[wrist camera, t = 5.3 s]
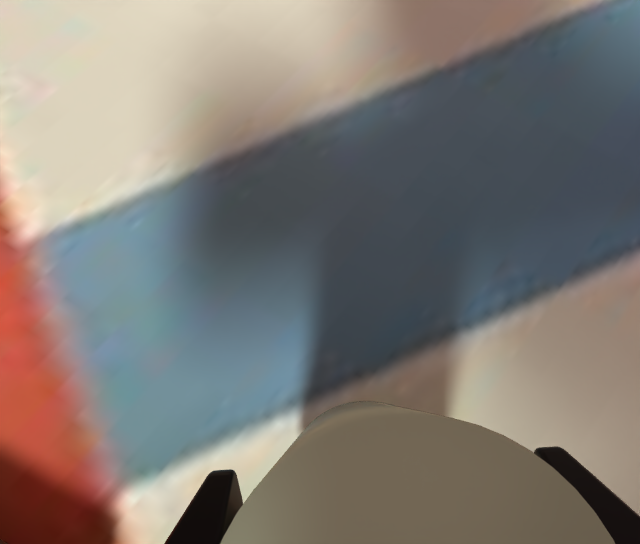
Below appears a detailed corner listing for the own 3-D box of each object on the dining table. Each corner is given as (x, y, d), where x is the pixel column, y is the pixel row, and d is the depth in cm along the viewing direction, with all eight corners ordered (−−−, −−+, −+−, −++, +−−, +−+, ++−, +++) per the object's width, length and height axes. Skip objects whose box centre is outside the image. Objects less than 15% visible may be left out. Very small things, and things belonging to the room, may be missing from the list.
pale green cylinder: (477, 447, 16) (710, 536, 6) (410, 614, 15) (557, 1046, 5) (327, 373, 16) (316, 344, 7) (253, 529, 15) (111, 767, 6)
